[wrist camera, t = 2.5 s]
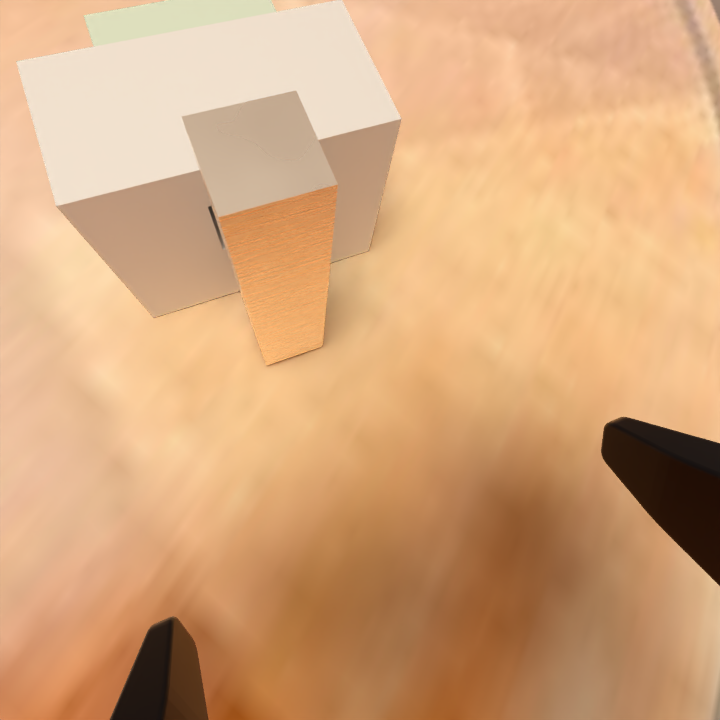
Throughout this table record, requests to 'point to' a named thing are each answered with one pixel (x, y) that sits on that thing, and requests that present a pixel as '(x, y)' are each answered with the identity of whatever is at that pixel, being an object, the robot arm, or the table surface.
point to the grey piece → (271, 214)
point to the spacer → (168, 17)
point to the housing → (172, 146)
